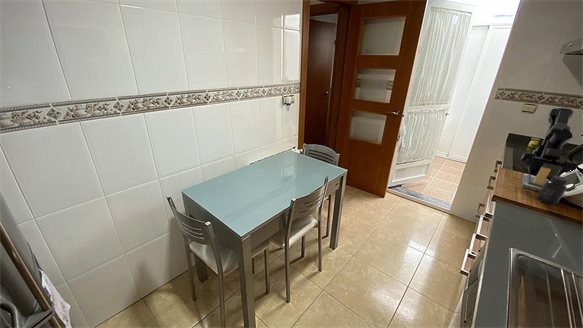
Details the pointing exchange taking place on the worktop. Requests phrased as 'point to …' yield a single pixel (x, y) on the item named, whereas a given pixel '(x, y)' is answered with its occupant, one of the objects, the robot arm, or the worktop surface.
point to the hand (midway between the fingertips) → (542, 176)
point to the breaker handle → (541, 177)
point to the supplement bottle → (553, 190)
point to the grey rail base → (527, 181)
